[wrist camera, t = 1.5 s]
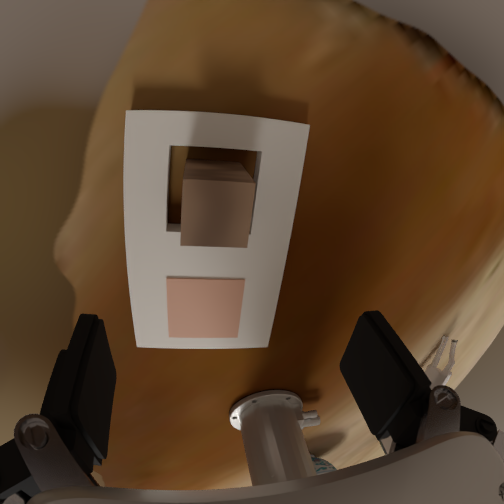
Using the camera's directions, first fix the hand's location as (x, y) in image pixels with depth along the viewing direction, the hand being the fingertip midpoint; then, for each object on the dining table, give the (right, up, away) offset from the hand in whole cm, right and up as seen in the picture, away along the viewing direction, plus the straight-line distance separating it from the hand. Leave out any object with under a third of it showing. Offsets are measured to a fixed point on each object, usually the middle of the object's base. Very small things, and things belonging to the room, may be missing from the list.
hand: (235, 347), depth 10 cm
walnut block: (-3, +10, +18) cm, 21 cm away
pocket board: (-4, +4, +21) cm, 21 cm away
